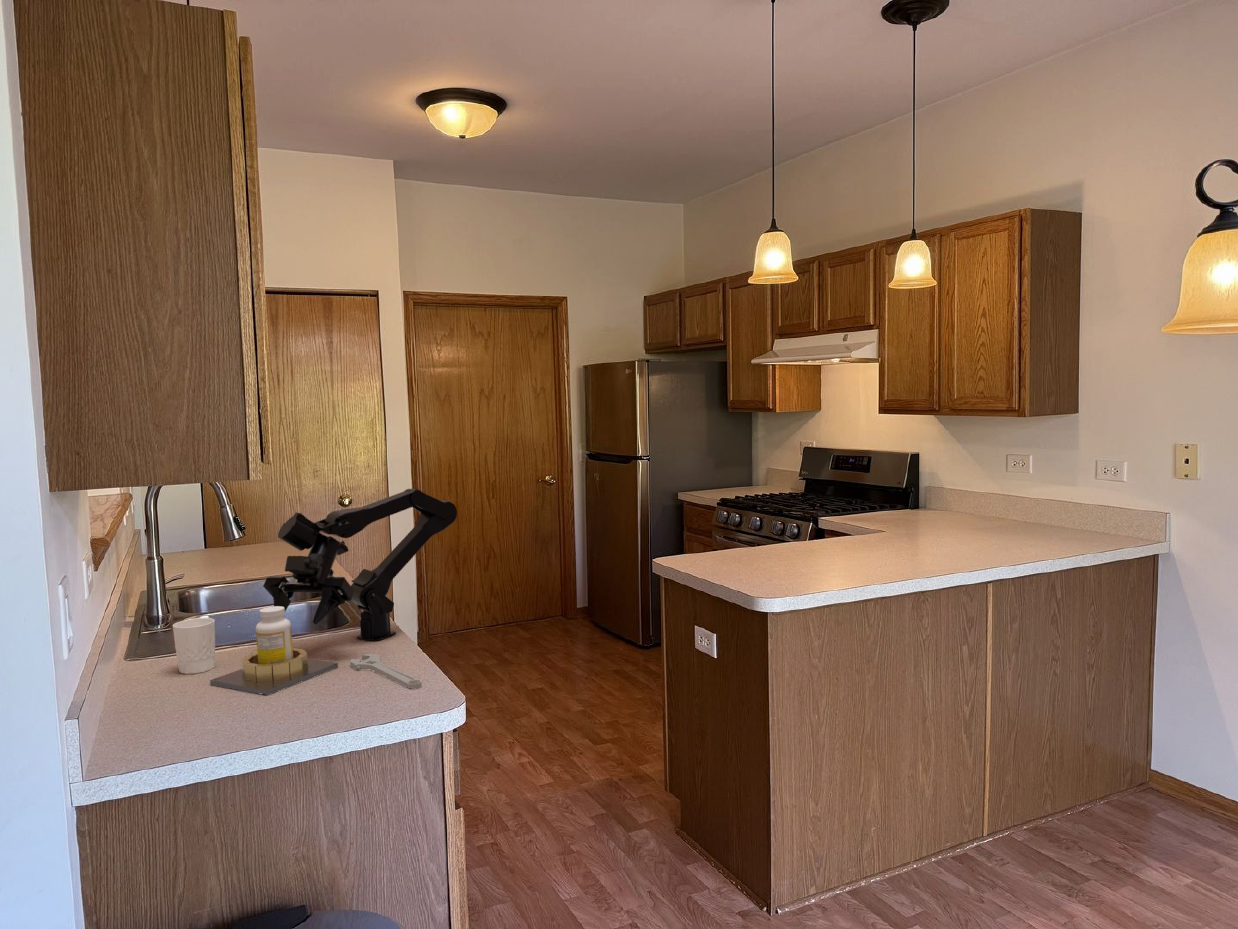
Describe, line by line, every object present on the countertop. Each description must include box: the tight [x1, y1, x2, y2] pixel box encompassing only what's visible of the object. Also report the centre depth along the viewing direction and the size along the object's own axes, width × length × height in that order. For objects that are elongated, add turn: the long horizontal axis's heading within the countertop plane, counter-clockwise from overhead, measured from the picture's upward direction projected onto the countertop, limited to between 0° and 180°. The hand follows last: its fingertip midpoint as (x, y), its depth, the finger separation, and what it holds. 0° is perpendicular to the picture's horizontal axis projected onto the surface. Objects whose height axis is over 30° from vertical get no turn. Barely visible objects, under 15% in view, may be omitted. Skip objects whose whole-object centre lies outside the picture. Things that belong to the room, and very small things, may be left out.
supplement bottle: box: [255, 605, 294, 664], centre depth 173 cm, size 7×7×13 cm
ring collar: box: [209, 647, 339, 696], centre depth 173 cm, size 18×16×4 cm
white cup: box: [172, 617, 216, 675], centre depth 180 cm, size 8×8×10 cm
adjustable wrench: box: [350, 653, 422, 690], centre depth 172 cm, size 25×6×2 cm, turn 38°
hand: (294, 622), depth 180 cm, fingers open, 9 cm apart
